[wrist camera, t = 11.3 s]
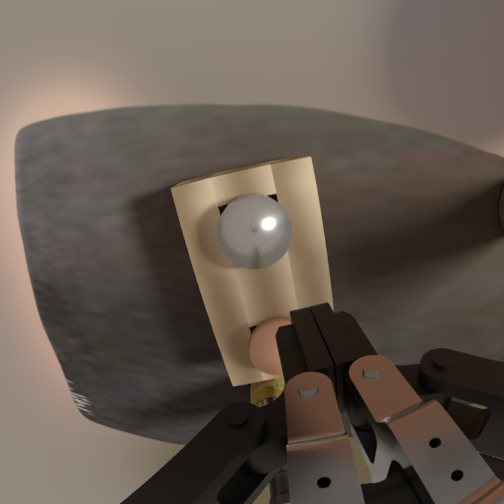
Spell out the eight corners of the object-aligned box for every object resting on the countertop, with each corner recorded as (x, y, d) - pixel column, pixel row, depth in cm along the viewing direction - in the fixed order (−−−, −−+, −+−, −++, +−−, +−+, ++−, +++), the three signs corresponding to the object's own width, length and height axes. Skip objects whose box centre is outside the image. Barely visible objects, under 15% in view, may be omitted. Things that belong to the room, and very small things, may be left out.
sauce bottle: (263, 357, 38) (285, 492, 19) (303, 371, 39) (340, 495, 20) (240, 389, 39) (248, 516, 21) (278, 401, 41) (300, 519, 22)
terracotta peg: (292, 284, 35) (307, 320, 27) (299, 327, 37) (314, 367, 29) (240, 296, 35) (243, 334, 27) (252, 337, 37) (257, 380, 29)
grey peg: (271, 180, 31) (284, 189, 23) (283, 234, 33) (298, 260, 25) (214, 192, 31) (209, 206, 23) (228, 247, 33) (227, 276, 25)
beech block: (296, 155, 30) (310, 156, 24) (324, 333, 37) (338, 362, 32) (182, 181, 30) (170, 188, 24) (232, 354, 37) (233, 386, 32)
